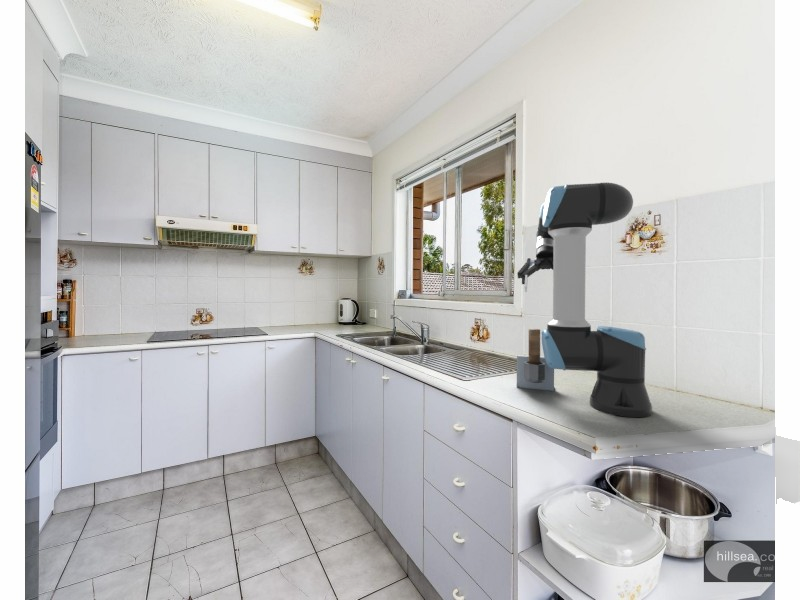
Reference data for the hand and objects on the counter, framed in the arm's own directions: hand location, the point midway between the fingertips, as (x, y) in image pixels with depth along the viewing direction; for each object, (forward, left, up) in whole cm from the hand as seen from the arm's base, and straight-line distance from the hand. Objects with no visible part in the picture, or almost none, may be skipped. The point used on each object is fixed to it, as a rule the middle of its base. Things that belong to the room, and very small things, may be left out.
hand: (545, 289), depth 129 cm
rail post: (-9, +13, -29) cm, 33 cm away
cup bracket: (-8, +12, -30) cm, 33 cm away
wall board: (-3, +7, -34) cm, 35 cm away
